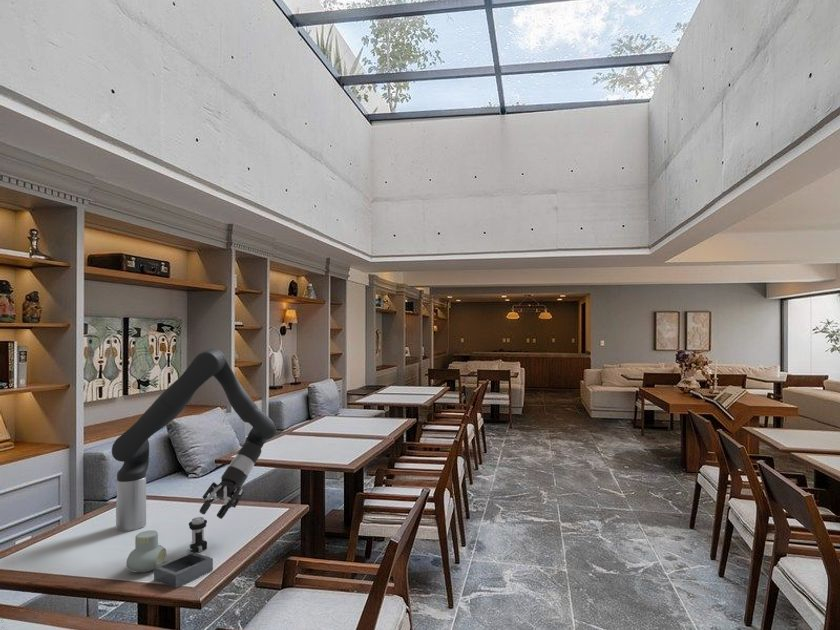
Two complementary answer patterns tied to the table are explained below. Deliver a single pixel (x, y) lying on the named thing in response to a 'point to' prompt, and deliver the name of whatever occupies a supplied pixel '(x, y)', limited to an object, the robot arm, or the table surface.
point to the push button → (197, 535)
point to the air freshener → (146, 552)
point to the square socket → (175, 579)
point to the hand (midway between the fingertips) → (210, 515)
